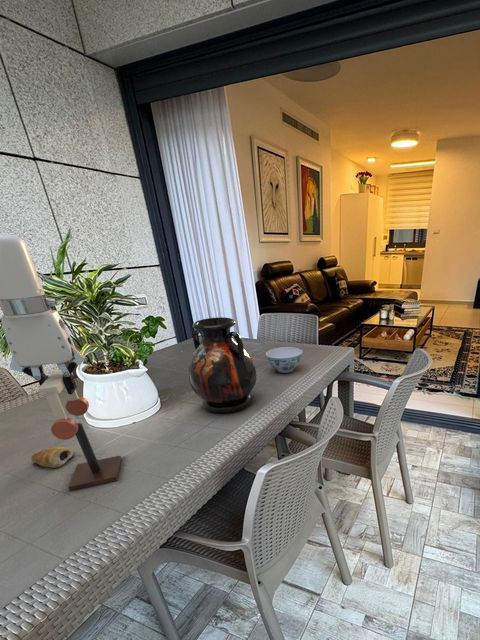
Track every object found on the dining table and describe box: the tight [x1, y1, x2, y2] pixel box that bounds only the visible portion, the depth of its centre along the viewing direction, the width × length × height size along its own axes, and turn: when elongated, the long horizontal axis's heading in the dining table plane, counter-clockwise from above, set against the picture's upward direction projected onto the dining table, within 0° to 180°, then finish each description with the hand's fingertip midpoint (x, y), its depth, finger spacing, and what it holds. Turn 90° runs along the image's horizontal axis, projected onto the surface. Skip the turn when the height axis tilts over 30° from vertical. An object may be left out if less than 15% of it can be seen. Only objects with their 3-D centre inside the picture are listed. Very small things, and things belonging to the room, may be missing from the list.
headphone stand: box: [68, 422, 123, 492], centre depth 84 cm, size 10×10×14 cm
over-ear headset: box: [37, 368, 90, 441], centre depth 78 cm, size 4×14×12 cm, turn 20°
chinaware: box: [265, 346, 303, 374], centre depth 147 cm, size 15×15×8 cm
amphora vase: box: [188, 316, 258, 414], centre depth 114 cm, size 22×22×28 cm
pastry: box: [31, 446, 74, 469], centre depth 93 cm, size 9×7×4 cm
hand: (61, 392), depth 77 cm, fingers closed on over-ear headset, 3 cm apart
